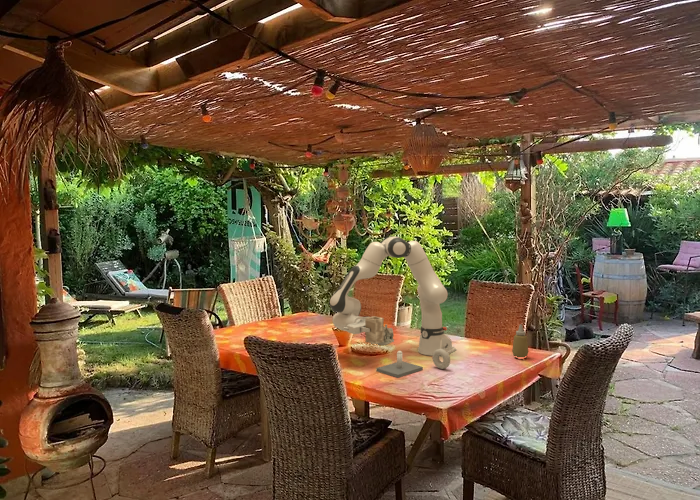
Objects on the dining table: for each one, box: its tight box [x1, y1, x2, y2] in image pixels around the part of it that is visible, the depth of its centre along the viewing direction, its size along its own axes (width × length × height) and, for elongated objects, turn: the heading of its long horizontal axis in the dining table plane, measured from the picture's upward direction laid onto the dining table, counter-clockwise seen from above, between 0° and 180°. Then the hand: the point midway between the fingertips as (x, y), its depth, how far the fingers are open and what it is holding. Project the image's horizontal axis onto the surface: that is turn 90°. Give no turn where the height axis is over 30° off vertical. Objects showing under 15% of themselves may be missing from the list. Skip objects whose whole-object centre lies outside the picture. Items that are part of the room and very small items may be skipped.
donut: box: [432, 349, 451, 370], centre depth 252 cm, size 10×4×10 cm, turn 43°
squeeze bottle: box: [511, 324, 529, 357], centre depth 269 cm, size 8×8×18 cm
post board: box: [375, 350, 424, 379], centre depth 249 cm, size 18×14×10 cm
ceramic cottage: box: [370, 323, 395, 346], centre depth 305 cm, size 16×16×15 cm
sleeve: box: [364, 316, 385, 344], centre depth 255 cm, size 6×6×12 cm
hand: (375, 329), depth 255 cm, fingers closed on sleeve, 6 cm apart
